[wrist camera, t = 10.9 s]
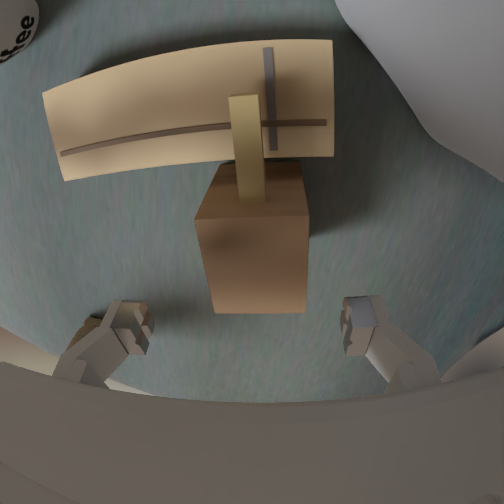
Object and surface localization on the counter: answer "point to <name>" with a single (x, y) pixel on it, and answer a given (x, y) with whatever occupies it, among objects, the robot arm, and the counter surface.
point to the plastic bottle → (443, 67)
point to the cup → (16, 26)
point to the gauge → (254, 225)
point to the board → (194, 107)
